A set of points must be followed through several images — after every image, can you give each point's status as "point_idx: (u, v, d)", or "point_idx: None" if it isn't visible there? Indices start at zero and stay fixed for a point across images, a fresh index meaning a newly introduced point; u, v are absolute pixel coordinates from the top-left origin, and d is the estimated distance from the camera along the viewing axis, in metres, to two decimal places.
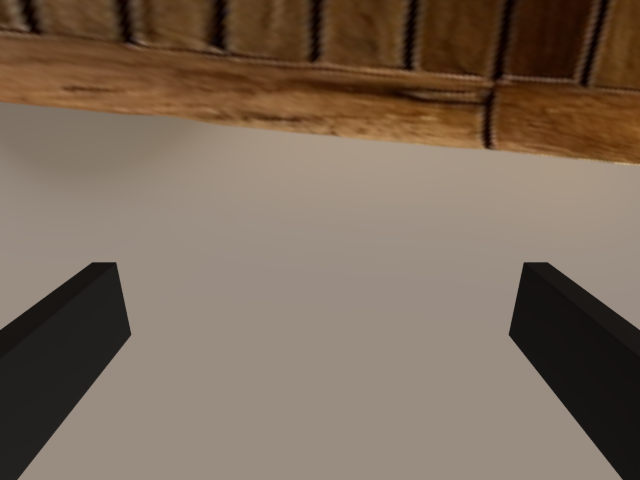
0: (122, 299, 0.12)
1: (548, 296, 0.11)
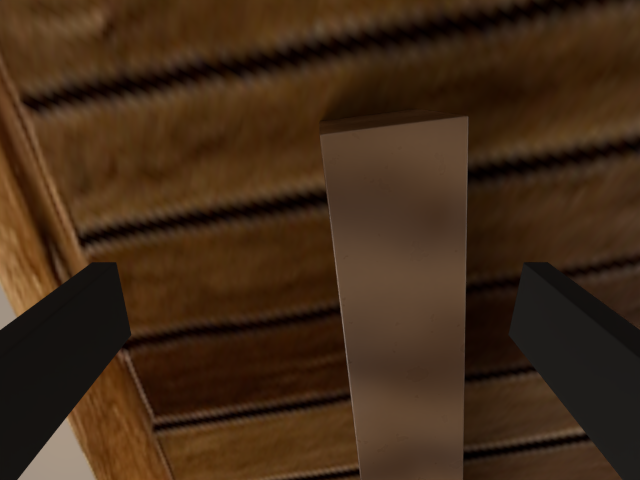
0: (122, 299, 0.12)
1: (548, 296, 0.11)
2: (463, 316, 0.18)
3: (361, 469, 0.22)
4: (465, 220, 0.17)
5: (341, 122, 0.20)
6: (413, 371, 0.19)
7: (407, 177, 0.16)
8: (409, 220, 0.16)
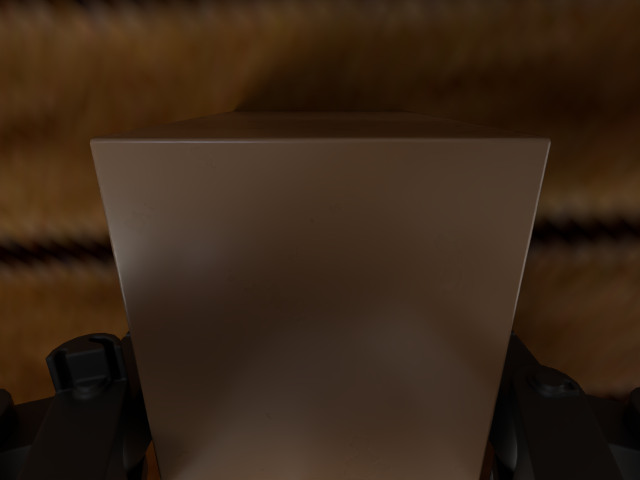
0: None
1: None
2: None
3: None
4: (492, 405, 0.06)
5: (247, 116, 0.09)
6: None
7: (350, 287, 0.06)
8: (349, 392, 0.06)
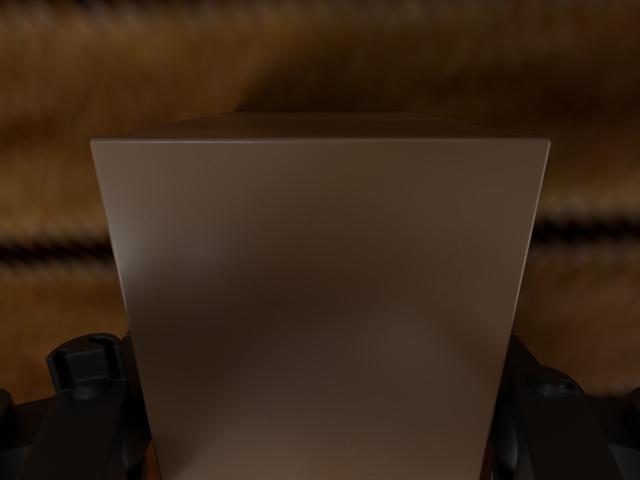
0: None
1: None
2: None
3: None
4: (492, 405, 0.06)
5: (247, 116, 0.09)
6: None
7: (351, 287, 0.06)
8: (349, 393, 0.06)
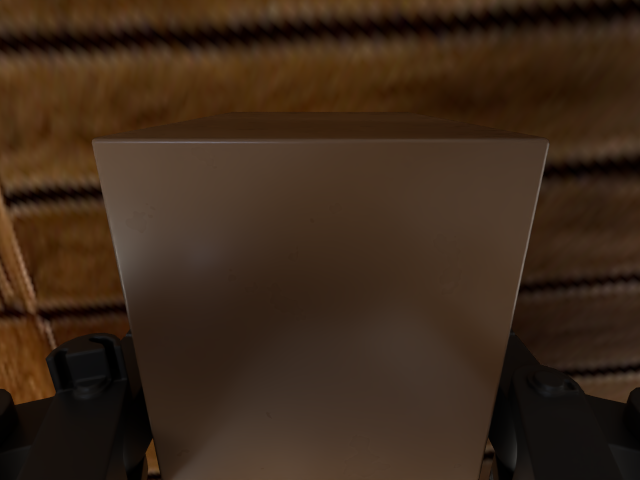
0: None
1: None
2: None
3: None
4: (491, 405, 0.06)
5: (248, 117, 0.10)
6: None
7: (350, 287, 0.06)
8: (349, 391, 0.06)
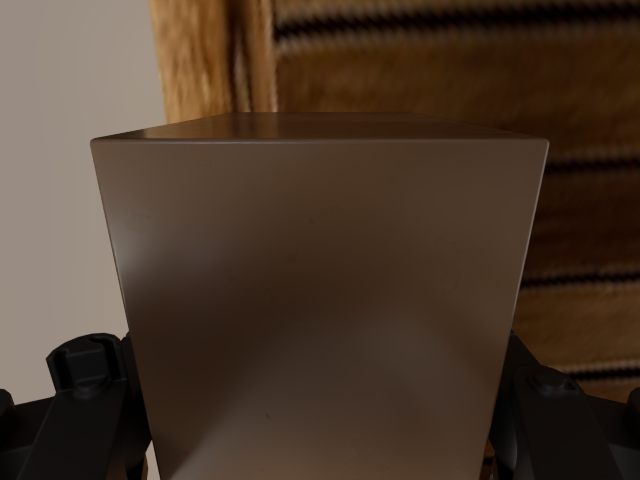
0: None
1: None
2: None
3: None
4: (492, 406, 0.06)
5: (247, 117, 0.09)
6: None
7: (350, 288, 0.06)
8: (349, 393, 0.06)
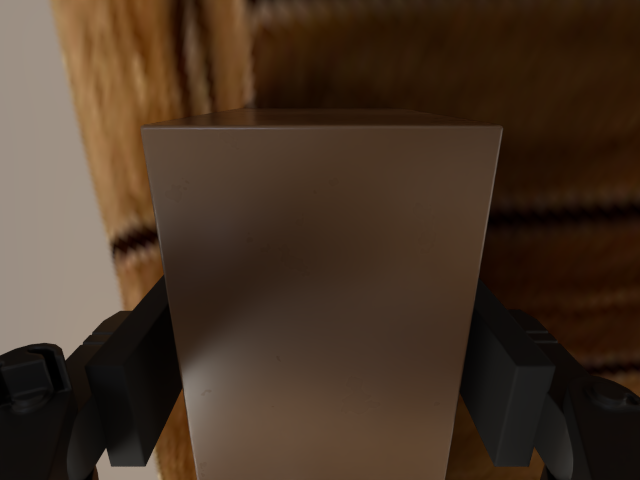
0: None
1: None
2: None
3: None
4: (463, 349, 0.08)
5: None
6: None
7: (346, 247, 0.07)
8: (345, 337, 0.08)
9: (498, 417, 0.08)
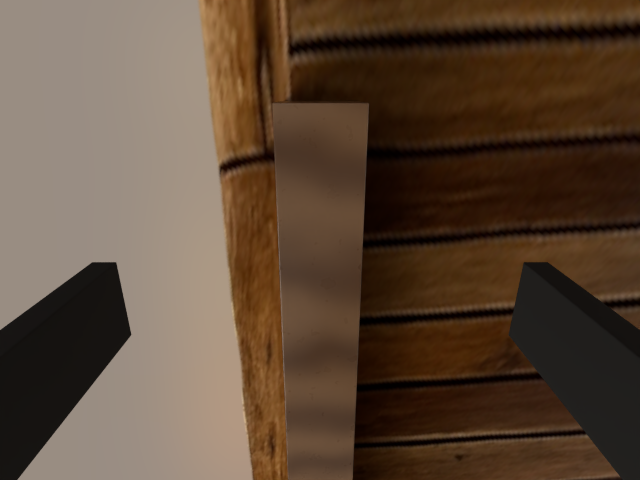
0: (122, 299, 0.12)
1: (548, 296, 0.11)
2: (361, 243, 0.27)
3: (284, 355, 0.30)
4: (364, 173, 0.25)
5: (296, 101, 0.28)
6: (324, 281, 0.28)
7: (327, 138, 0.24)
8: (328, 169, 0.25)
9: None
